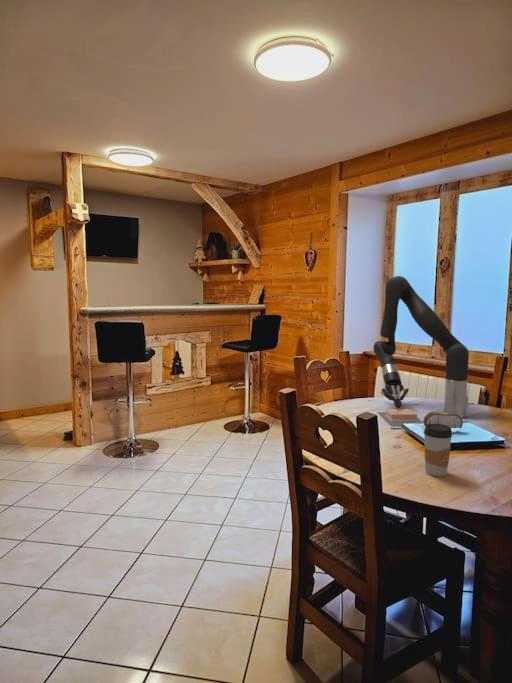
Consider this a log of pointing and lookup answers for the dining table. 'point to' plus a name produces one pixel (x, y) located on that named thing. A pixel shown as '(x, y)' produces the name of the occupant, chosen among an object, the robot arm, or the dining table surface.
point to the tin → (444, 419)
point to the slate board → (397, 423)
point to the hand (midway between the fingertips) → (398, 407)
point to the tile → (401, 415)
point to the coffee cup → (437, 449)
